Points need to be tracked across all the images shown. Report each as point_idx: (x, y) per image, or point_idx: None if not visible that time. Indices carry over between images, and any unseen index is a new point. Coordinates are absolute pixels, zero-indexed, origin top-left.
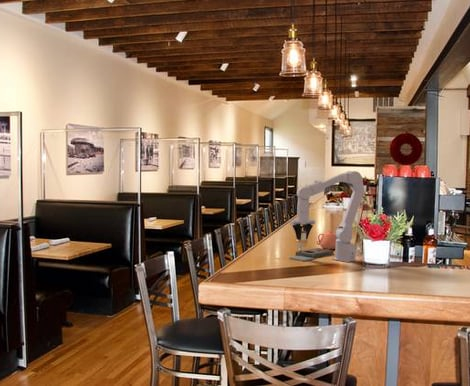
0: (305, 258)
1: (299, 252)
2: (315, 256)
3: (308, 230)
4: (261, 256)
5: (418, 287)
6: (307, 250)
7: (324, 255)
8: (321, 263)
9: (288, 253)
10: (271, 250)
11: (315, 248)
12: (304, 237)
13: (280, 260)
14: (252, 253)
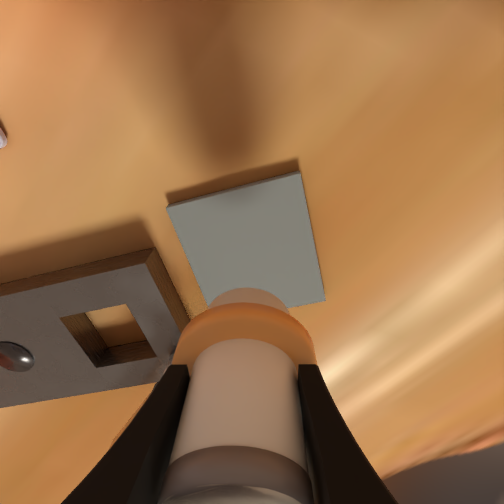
0: (237, 228)
1: None
2: (108, 262)
3: (124, 501)
4: (419, 396)
5: None
6: (96, 376)
7: (7, 283)
8: (208, 12)
9: None
10: None
11: (5, 403)
12: (244, 374)
13: (430, 272)
14: (390, 454)
